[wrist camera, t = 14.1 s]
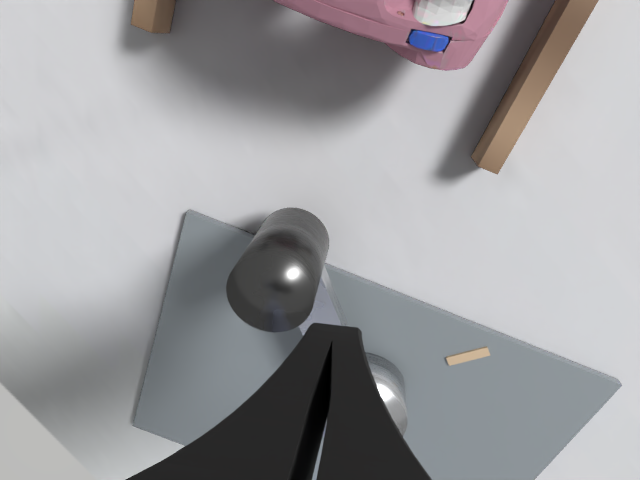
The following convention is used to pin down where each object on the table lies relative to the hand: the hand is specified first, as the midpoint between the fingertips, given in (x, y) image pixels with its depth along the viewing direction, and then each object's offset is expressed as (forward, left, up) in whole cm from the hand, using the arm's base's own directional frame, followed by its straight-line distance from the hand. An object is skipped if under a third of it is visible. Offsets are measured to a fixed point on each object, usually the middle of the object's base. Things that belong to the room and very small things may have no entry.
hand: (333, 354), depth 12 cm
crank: (-4, -1, -8) cm, 9 cm away
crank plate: (-9, -4, -9) cm, 13 cm away
